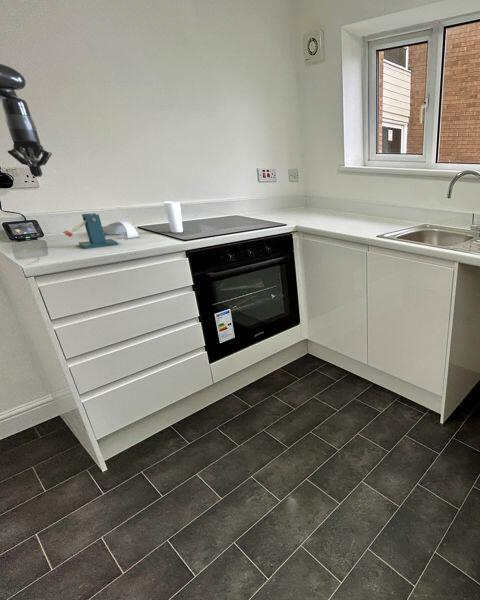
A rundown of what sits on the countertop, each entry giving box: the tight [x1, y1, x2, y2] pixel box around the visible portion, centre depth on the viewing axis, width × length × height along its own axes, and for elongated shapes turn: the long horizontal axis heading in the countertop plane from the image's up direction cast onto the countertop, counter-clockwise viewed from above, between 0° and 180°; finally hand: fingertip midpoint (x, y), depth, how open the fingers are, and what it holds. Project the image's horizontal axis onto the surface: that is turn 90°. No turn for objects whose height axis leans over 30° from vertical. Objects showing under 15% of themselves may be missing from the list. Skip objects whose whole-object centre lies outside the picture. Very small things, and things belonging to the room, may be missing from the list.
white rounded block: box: [102, 220, 139, 239], centre depth 167 cm, size 24×12×7 cm, turn 61°
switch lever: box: [62, 213, 93, 238], centre depth 143 cm, size 12×6×2 cm
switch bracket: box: [77, 212, 119, 249], centre depth 147 cm, size 11×9×13 cm
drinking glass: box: [163, 201, 184, 234], centre depth 177 cm, size 7×7×15 cm
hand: (37, 176), depth 139 cm, fingers closed
